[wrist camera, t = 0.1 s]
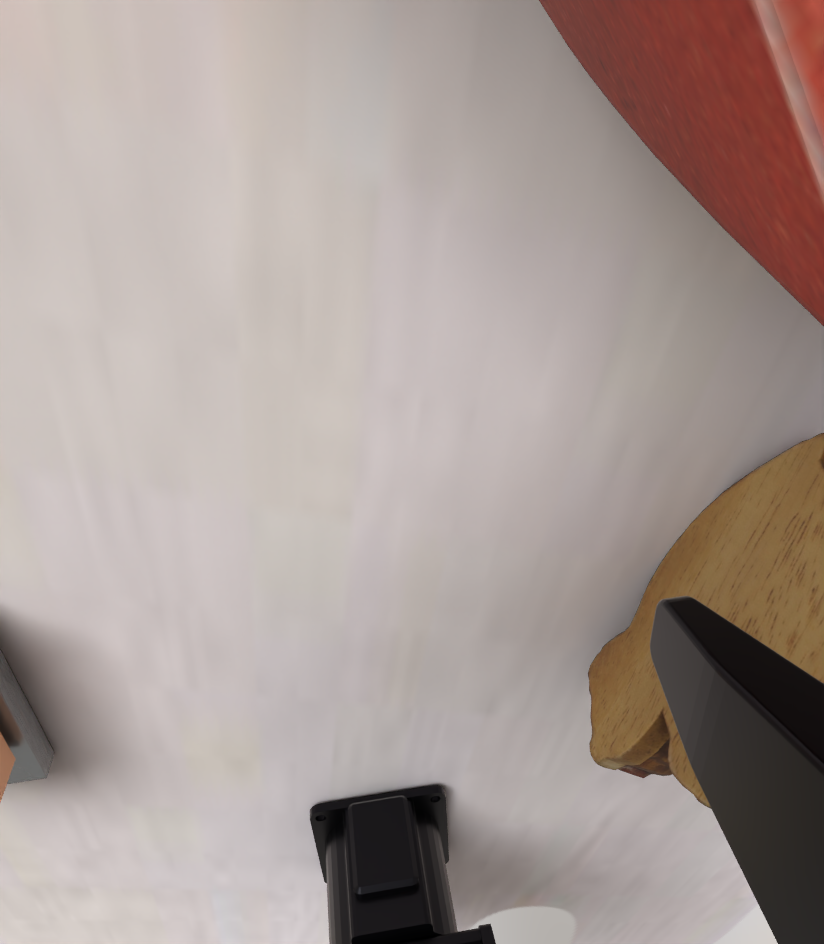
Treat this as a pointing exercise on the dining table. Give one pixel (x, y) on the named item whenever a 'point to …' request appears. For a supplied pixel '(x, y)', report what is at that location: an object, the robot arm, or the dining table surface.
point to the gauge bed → (22, 730)
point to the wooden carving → (720, 605)
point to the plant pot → (723, 112)
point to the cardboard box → (5, 764)
